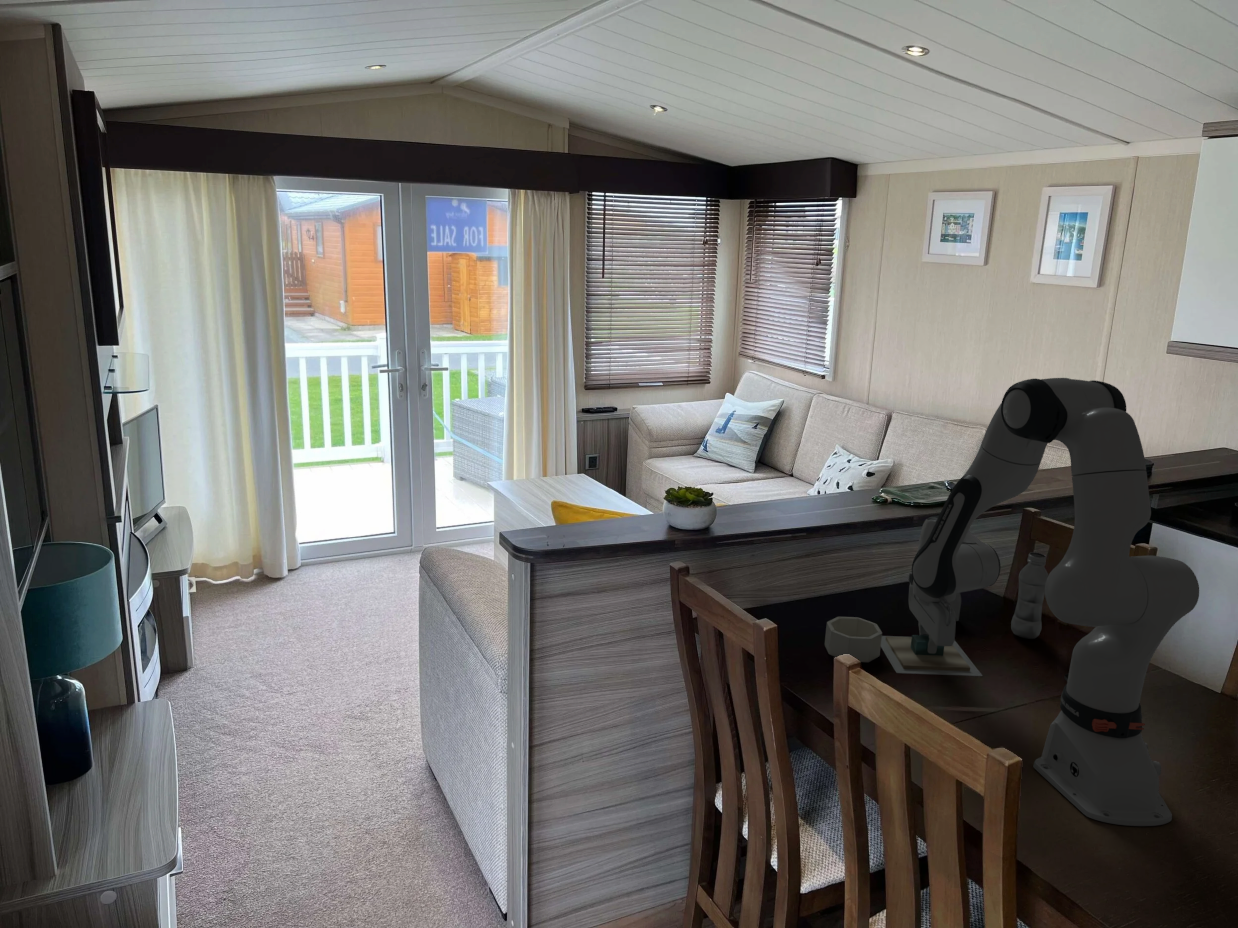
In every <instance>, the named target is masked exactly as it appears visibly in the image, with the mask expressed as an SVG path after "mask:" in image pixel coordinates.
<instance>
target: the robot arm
mask: <svg viewBox="0 0 1238 928" xmlns="http://www.w3.org/2000/svg"><path fill="white" fill-rule="evenodd" d="M1138 431H1139V430H1138V428H1137V426H1136V423H1135V420H1134V418H1133V417H1132V416H1131V414H1129V413H1128V412H1127V402H1126V399H1125V396H1124V394H1123V393H1122V392H1121V391H1120V389H1119V388H1117V387H1116V386H1115V385H1113V384H1111V383H1108V382H1105V381H1100V380H1095V379H1093V380H1084V379H1083V380H1082V379H1076V378H1074V379H1072V378H1070V377H1069V378H1068V377H1051V378H1050V377H1049V378H1028V379H1025V380H1024V379H1023V380H1021V381H1018V382H1015V383H1013V384H1012V385H1011V386H1010V387H1008V389H1007V390H1006V391H1005V393H1004V394H1003V397H1002V399H1001V403H1000V404H999V405H998V407H997V409H996V410H995V412H994V414H993V415H992V417H991V420H990V422H989V424H988V426H987V428H986V430H985V433H984V435H983V438H982V441H981V443H980V447H979V449H978V451H977V453H976V456H975V457H974V459H973V461H972V463H971V464H970V466H969V468H967V470H966V472H965V473H964V474H963V476H962V477H961V478H960V479H959V480H958V481H957V482H956V483H955V484H954V486H953V487H952V489H951V491H950V493H949V494H948V497H947V499H946V501H945V502H944V504H943V507H942V508H941V510H940V512H939V515H932V516H929V517H927V518H925V520H924V521H923V524H922V526H921V530H920V533H919V539H918V544H917V545H918V546H917V552H916V554H915V556H914V558H913V561H912V564H911V571H909V573H908V577H907V579H908V583H909V586H908V607H909V610H910V612H911V613H912V614H913V616H914V617H915V619H916V620H917V621H918V622H917V623H918V624H917V625H918V631H919V634H918V635H927V636H929V642H928V643H927V645H926V650H927V651H928V653H936V651H937V646H952V645H953V643H954V640H955V641H956V639H955V637H956V628H957V627H956V625H957V624H956V622H957V621H956V616H955V612H954V610H953V609H952V608H951V605H950V603H949V602H952V601H954V600H955V599H956V593H960V594H961V593H965V592H971V591H975V590H980V589H985V588H988V587H991V586H994V585H995V583H996V582H997V581H998V579H999V577H1000V575H1001V574H1000V573H1001V561H1000V556H999V554H998V553H997V551H996V550H995V549H994V548H993V546H991V545H990V544H988V543H986V542H983V541H982V540H980V539H979V538H978V537H977V536H975V535H974V534H973V533H972V532H971V531H970V528H971V526H972V524H973V523H974V522H975V520H976V519H977V518H978V517H979V516H980V515H982V514H984V513H985V512H986V511H988V510H990V509H991V508H993V507H995V506H997V505H999V504H1001V503H1003V502H1005V501H1008V500H1010V499H1014V498H1015V497H1017V496H1020V495H1021V494H1023V493H1025V491H1027V489H1028V488H1029V487H1030V485H1031V483H1032V482H1033V480H1034V479H1035V477H1036V476H1037V474H1038V471H1039V468H1040V465H1041V463H1042V460H1043V458H1044V454H1045V451H1046V448H1047V446H1048V444H1050V443H1052V442H1053V441H1058V442H1061V443H1062V444H1063V445H1064V446H1065V447H1066V448H1067V450H1068V452H1069V458H1070V472H1071V473H1070V474H1071V480H1072V481H1071V483H1072V490H1073V491H1072V493H1073V505H1074V506H1073V507H1074V523H1073V524H1074V527H1073V532H1072V536H1071V540H1070V543H1069V545H1068V547H1067V550H1066V552H1065V554H1064V556H1063V558H1062V559H1060V561H1059V563H1058V564H1057V565H1056V566H1055V567H1054V568H1053V569H1051V571H1050V572H1049V573H1048V575H1049V576H1048V578H1047V580H1046V584H1045V595H1044V598H1045V601H1046V604H1047V607H1049V610H1050V612H1051V613H1052V614H1053V615H1054V617H1056V619H1058V620H1059V621H1061V622H1062V623H1066V624H1069V625H1070V624H1071V625H1076V626H1082V627H1083V626H1084V627H1089V628H1092V627H1093V629H1092V630H1090V632H1089V633H1088V634H1086V635H1085V636H1083V637H1082V638H1081V639H1080V640H1079V641H1078V642H1077V643H1076V644H1075V645H1074V648H1073V650H1072V652H1071V660H1070V665H1069V671H1068V674H1069V675H1068V681H1066V684H1065V685H1064V687H1063V690H1062V692H1061V694H1060V695H1061V696H1060V704H1059V707H1060V711H1059V713H1058V715H1057V717H1055V719H1054V720H1053V721H1052V722H1051V723H1050V725H1049V728H1048V732H1047V734H1046V739H1045V742H1044V747H1043V750H1042V753H1041V756H1039V757H1037V758H1036V759H1035V760H1034V762H1033V765H1032V766H1033V769H1034V770H1036V771H1037V772H1038V773H1039V774H1040V775H1041V776H1042V777H1043V778H1044V779H1045V780H1046V781H1047V782H1048V783H1049V784H1050V785H1052V786H1053V787H1054V788H1055V789H1056V790H1057V791H1058V792H1059V793H1061V794H1062V796H1064V797H1065V799H1067V800H1068V801H1069V802H1070V803H1071V804H1072V805H1073V806H1074V807H1076V808H1077V809H1078V810H1079V811H1080V812H1081V813H1082V814H1083V815H1084V816H1086V817H1087V818H1089V819H1092V820H1095V821H1099V822H1102V823H1107V824H1113V825H1118V826H1127V827H1130V826H1131V827H1155V826H1161V825H1165V824H1166V825H1167V824H1168V823H1170V822H1171V821H1172V820H1173V813H1172V811H1171V810H1170V809H1169V806H1168V805H1167V804H1166V802H1165V800H1164V798H1163V796H1161V793H1160V792H1159V791H1160V778H1159V777H1160V776H1161V773H1162V766H1161V762H1159V761H1158V760H1157V761H1156V760H1152V757H1151V755H1150V751H1149V745H1148V743H1147V742H1145V740H1144V738H1143V735H1142V731H1143V730H1145V728H1143V726H1146V723H1143V713H1142V706H1141V702H1140V701H1141V697H1142V692H1143V687H1144V683H1145V680H1146V675H1147V671H1148V668H1149V665H1150V662H1151V660H1152V659H1153V657H1154V654H1155V652H1156V651H1157V650H1158V647H1159V646H1160V644H1161V642H1162V641H1163V640H1164V638H1165V637H1166V635H1167V634H1168V632H1169V631H1170V630H1171V629H1172V627H1174V625H1175V624H1177V622H1179V621H1180V620H1181V619H1182V618H1184V617H1185V616H1186V615H1189V613H1190V612H1191V611H1193V610H1194V608H1195V607H1196V606H1197V603H1198V601H1199V597H1200V584H1199V581H1198V578H1197V575H1196V574H1195V572H1194V571H1193V569H1192V568H1191V567H1190V566H1189V565H1188V564H1187V563H1185V562H1183V560H1182V561H1181V560H1179V559H1175V558H1169V557H1164V556H1157V555H1150V554H1149V555H1137V556H1136V555H1134V556H1130V551H1131V546H1132V543H1133V540H1134V538H1135V536H1136V534H1137V533H1138V532H1139V531H1140V530H1141V529H1143V528H1144V527H1145V526H1146V525H1148V523H1149V521H1150V519H1151V516H1152V508H1151V499H1150V490H1149V483H1148V472H1147V466H1146V460H1145V454H1144V449H1143V445H1142V441H1141V438H1140V434H1139V432H1138Z"/></svg>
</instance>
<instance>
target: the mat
mask: <svg viewBox="0 0 1238 928" xmlns="http://www.w3.org/2000/svg"><path fill="white" fill-rule="evenodd" d="M886 637H901V636H898V635H897V636H895V635H894V636H893V635H882V639H881V648H880V649H882V651H883V653H884V655H885V657H886V658H887V659H888V662H889V663H890V664H891V666H892V668H893V670H894V671H895V673H896V674H908V675H909V674H911V675H912V674H913V675H916V674H917V675H937V676H938V675H940V676H941V675H943V676H965V677H966V676H967V677H968V676H969V677H983V674H982V673H981V672H980V670H979V669H978V668H977V667H976V665H975V664H974V663H973V662H972V660H971V659H970V658H969V657H968V655H967V654H966V653H965V652H964V650H963V649H962V647H961V646H960V645H959V644H958V642H957V641H956V639H955V640H954V643H953V646H954V647H955V649H956V650H957V651H958V652H959V654H960V655H961V656H962V658H963V659H964V660H965V661H966V663H967V664H968V665H969V667H970V671H951V670H924V669H903V667H902V666H901V664H900V662H899V661H898V659H897V658H896V656H895V654H894V653H893V651H892V650H891V648H890V646H889V645H888V643H887V641H886V640H885V639H886Z"/></svg>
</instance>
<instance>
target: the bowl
mask: <svg viewBox="0 0 1238 928" xmlns="http://www.w3.org/2000/svg"><path fill="white" fill-rule="evenodd" d="M825 627H826V628H825V637H824V647H825V649H826V651H827V653H828V655H830V656H832V657H835V658H837V657H836V656H839V655H843V654H850V655H852V656H854V657H856V658H857V659H859V660H860V661H861V662H860V663H870V662H872V661H874V660H876V659H877V658H878V657H880V656H881V649H882V648H881V639H882V636H883V632H882V630H881V628H880V627H879V625H878V624H877V623H875V622H872V621H870V620H866V619H864V618H861V617H857V616H855V617H854V616H836V617H835V618H832V619H830V620H828V621H826V626H825Z"/></svg>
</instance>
